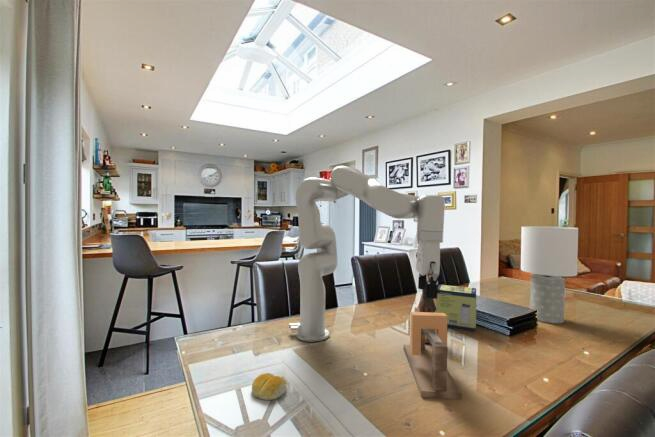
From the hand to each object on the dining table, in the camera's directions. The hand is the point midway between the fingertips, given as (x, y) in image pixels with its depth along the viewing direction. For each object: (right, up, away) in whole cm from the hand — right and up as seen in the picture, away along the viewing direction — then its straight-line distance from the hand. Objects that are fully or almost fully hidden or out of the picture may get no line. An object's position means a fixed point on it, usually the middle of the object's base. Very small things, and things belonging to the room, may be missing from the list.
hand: (427, 293), depth 92 cm
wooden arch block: (0, -18, 0) cm, 18 cm away
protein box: (+25, -23, +38) cm, 51 cm away
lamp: (+69, -23, +46) cm, 86 cm away
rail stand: (0, -23, 0) cm, 23 cm away
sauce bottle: (+7, -23, +22) cm, 32 cm away
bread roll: (-45, -23, -11) cm, 52 cm away
